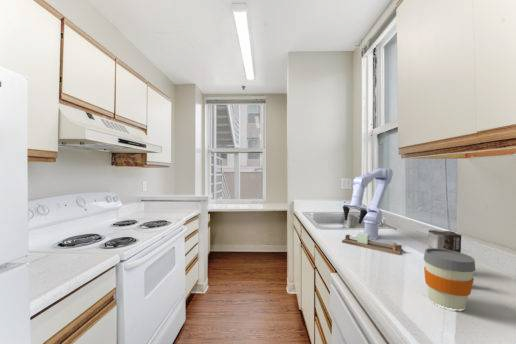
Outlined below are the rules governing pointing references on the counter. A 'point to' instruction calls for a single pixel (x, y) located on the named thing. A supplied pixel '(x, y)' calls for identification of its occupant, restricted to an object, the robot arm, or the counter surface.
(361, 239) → the sleeve
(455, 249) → the coffee box
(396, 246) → the rod board
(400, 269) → the counter surface
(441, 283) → the reusable coffee cup
